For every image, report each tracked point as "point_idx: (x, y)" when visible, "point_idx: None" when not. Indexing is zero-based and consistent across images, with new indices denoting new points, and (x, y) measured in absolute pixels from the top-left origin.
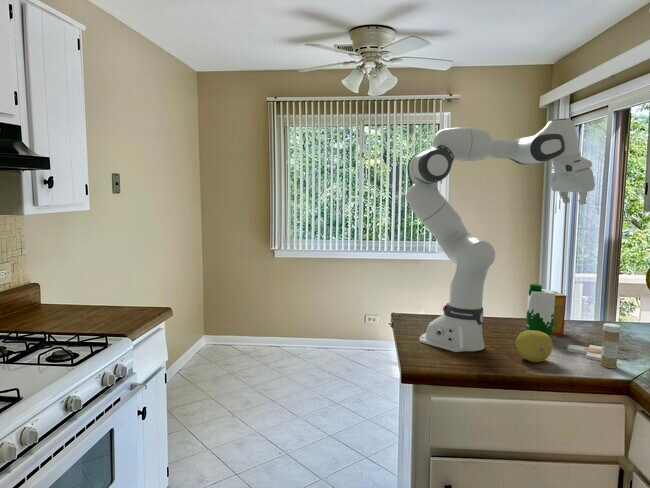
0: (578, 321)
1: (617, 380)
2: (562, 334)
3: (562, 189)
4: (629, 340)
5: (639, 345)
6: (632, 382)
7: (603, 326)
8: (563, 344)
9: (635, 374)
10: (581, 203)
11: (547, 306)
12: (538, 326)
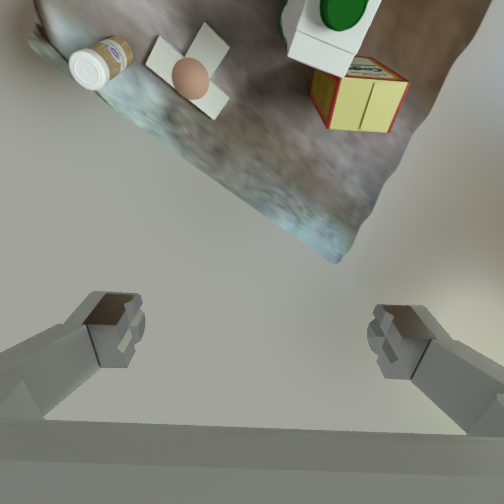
0: (377, 188)
1: (34, 6)
2: (309, 93)
3: (452, 485)
4: (265, 195)
5: (240, 192)
6: (35, 34)
7: (90, 51)
8: (249, 46)
9: None
10: (88, 295)
11: (286, 22)
12: None
